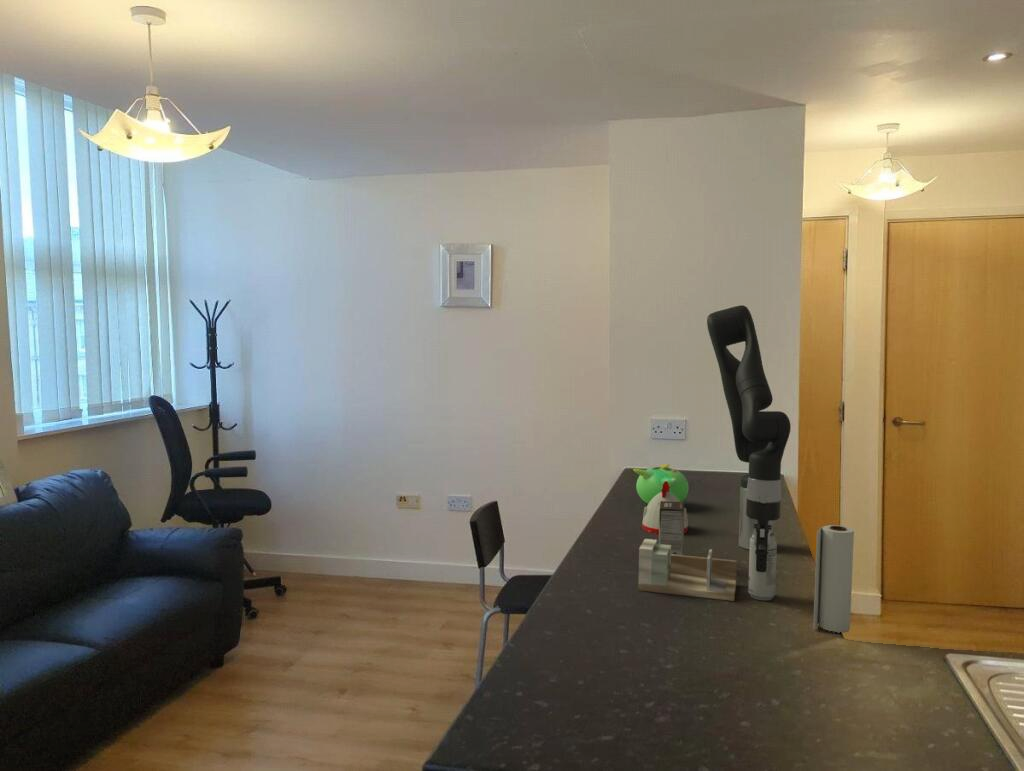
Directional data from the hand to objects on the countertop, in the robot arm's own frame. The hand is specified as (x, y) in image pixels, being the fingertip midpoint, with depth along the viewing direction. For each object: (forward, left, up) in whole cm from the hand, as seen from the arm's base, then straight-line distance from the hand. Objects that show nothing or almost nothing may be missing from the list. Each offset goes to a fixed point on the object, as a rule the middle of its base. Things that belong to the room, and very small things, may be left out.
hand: (761, 566), depth 181 cm
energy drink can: (0, 0, -8) cm, 8 cm away
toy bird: (-84, -34, -8) cm, 91 cm away
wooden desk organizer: (-1, -17, -7) cm, 18 cm away
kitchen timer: (-54, -29, -8) cm, 62 cm away
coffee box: (-18, -23, -8) cm, 30 cm away
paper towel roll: (+15, +14, -8) cm, 22 cm away
